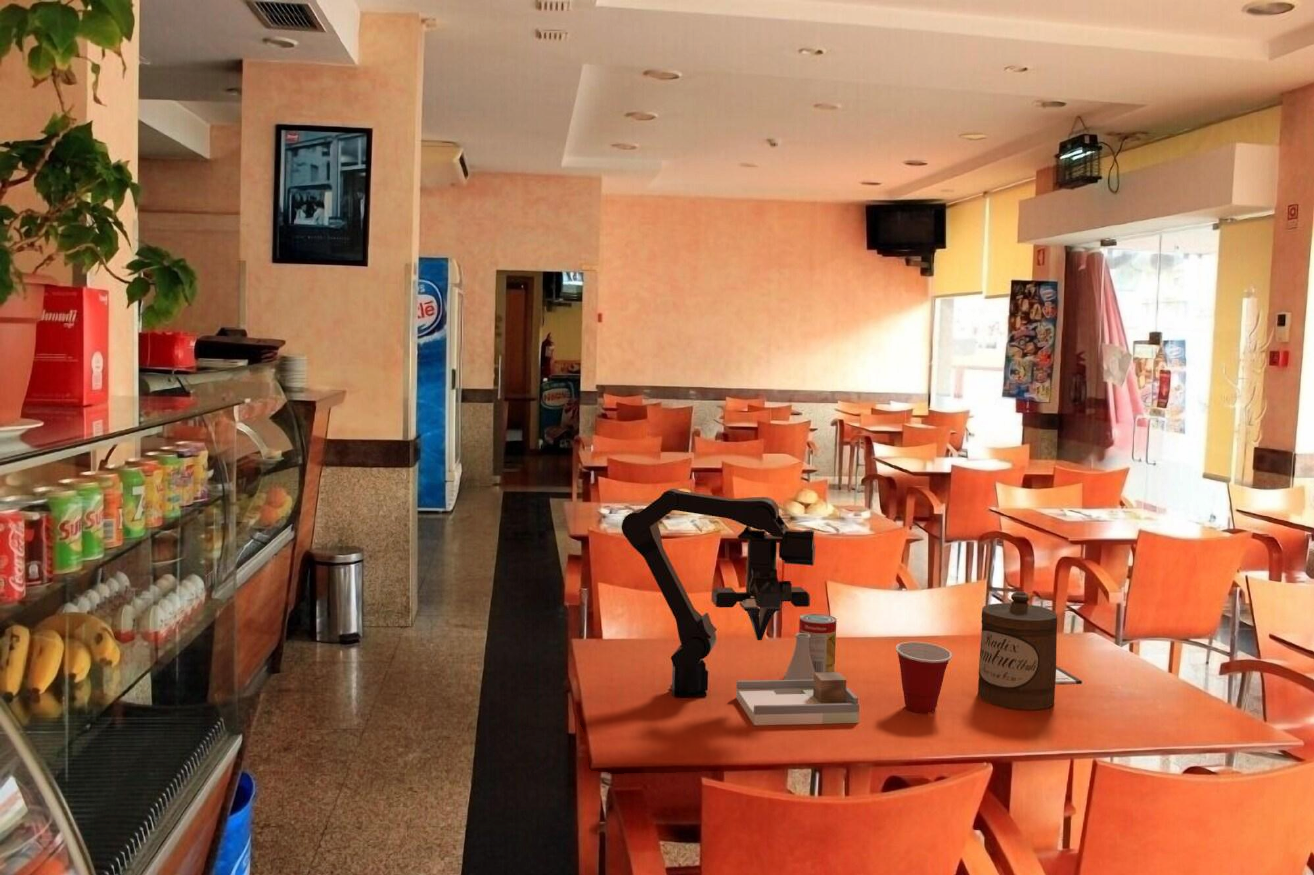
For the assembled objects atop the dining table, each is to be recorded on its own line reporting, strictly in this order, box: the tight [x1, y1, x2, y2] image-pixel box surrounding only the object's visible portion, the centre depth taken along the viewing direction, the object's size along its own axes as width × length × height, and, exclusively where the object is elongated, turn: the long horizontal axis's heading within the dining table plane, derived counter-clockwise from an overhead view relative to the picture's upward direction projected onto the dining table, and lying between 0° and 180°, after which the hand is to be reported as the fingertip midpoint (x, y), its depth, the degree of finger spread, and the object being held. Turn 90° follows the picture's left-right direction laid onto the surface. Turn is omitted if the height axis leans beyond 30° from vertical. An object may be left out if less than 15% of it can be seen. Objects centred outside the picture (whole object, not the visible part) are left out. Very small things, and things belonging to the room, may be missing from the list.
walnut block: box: [813, 671, 847, 703], centre depth 218 cm, size 5×5×4 cm
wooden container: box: [977, 590, 1058, 711], centre depth 227 cm, size 15×15×22 cm
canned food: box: [798, 613, 838, 673], centre depth 242 cm, size 8×8×12 cm
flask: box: [783, 632, 815, 680], centre depth 236 cm, size 7×7×10 cm
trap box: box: [735, 679, 860, 726], centre depth 217 cm, size 20×16×4 cm
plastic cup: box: [895, 641, 953, 714], centre depth 219 cm, size 11×11×12 cm
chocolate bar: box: [1055, 665, 1083, 685], centre depth 248 cm, size 9×1×18 cm
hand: (759, 639), depth 222 cm, fingers closed
